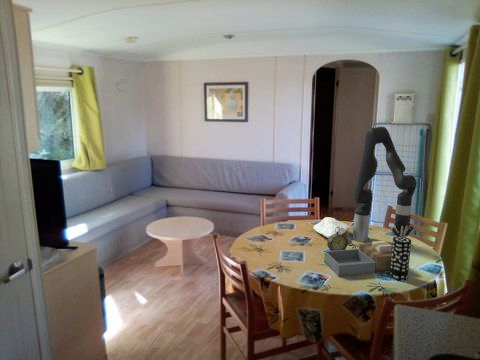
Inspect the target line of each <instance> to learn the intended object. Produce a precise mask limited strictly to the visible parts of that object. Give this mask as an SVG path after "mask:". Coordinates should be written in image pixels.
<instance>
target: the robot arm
mask: <svg viewBox="0 0 480 360" xmlns="http://www.w3.org/2000/svg"><path fill="white" fill-rule="evenodd" d="M377 144H382V145H383V147H384V149H385V162H386V165H387V166H388V168H389V170H390V171H391V173H392V178H393V181H394V185H395V186H396V187H397V189H399V190H402V191H401V192H400V193H398V195H397V198H396V206H395V213H394V225H393V226H390V227H389V229H390V230H391V232H392V234H394V236H395V237H408V236H409V235H410V234H411V233H412V231H413V230H414V227H413V226H412V225H411V223H410V222H411V219H412V203H413V202H412V201H413V197H414V194H415V191H416V188H417V184H418V183H417V179H416V177H415V176H414V175H411V174H410V175H404V173H405V171H406V169H407V168H406V166H405V164H404V163H403V161H402V160H401V158H400V156H399V154H398V153H397V150H396V148H395V145H394V142H393V140H392V137H391V135H390V132H389V130H388V129H387V128H386V127H384V126H377V127H370V128H369V129H367V131H366V133H365V141H364V147H363V153H362V154H363V155H362V159H361V162H360V168H359V172H358V178H357V181H356V183H355V188H354V190H353V194H352V195H353V196H352V200H353V202H354V203H355V204H362V205H360V206H357V207H356V208H355V209H354V221H353V227H352V230H353V231H352V239H353V240H354V241H356V242H361V243H367V242H368V241H369V233H370V221H371V220H370V218H371V211H372V205H373V204H372V203H373V190H372V189H370V188H365V186H366V185H367V184H368V183H369V182H370V181H371V180H372V179H373V178H374V177H375V175H376V174H377V168H378V166H379V165H378V164H379V163H378V160H377V158H376V155H375V147H376V145H377Z"/></svg>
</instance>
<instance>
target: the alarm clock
mask: <svg viewBox="0 0 480 360" xmlns="http://www.w3.org/2000/svg"><path fill="white" fill-rule="evenodd" d="M337 228H339V227H337ZM339 229H340V228H339ZM335 230H336V229H335ZM339 231H340V230H339ZM335 232H336V231H335ZM326 244H327V247H328V250H329V251H336V250H347V248H348V239H347V237H346V236H344V234H342V235H341V234H338V232H337V233H336V234H333V235H331V236H330V237H329V238H327V243H326Z"/></svg>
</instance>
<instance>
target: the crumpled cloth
mask: <svg viewBox="0 0 480 360" xmlns="http://www.w3.org/2000/svg"><path fill="white" fill-rule="evenodd" d="M337 227H339V228H340V229H339V228H337ZM335 229H336V230H335ZM350 229H351V227H350V226H349V225H348V224H346V223H345V222H342V221H339V220H337V219H336V218H334V217H328V216H326V217H324V218H323V219H322V220H321V221H319V222H318V223H316V224H314V225H313V230H314V231H315V232H317V233H318V234H320V235H323V236H324V237H326V238H327V239H329V237H330V236H331V235H333V234H336V233H337V232H338V234H341V235H344V234H345V232H347V231H349V230H350ZM339 230H340V231H339ZM335 231H336V232H335Z"/></svg>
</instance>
